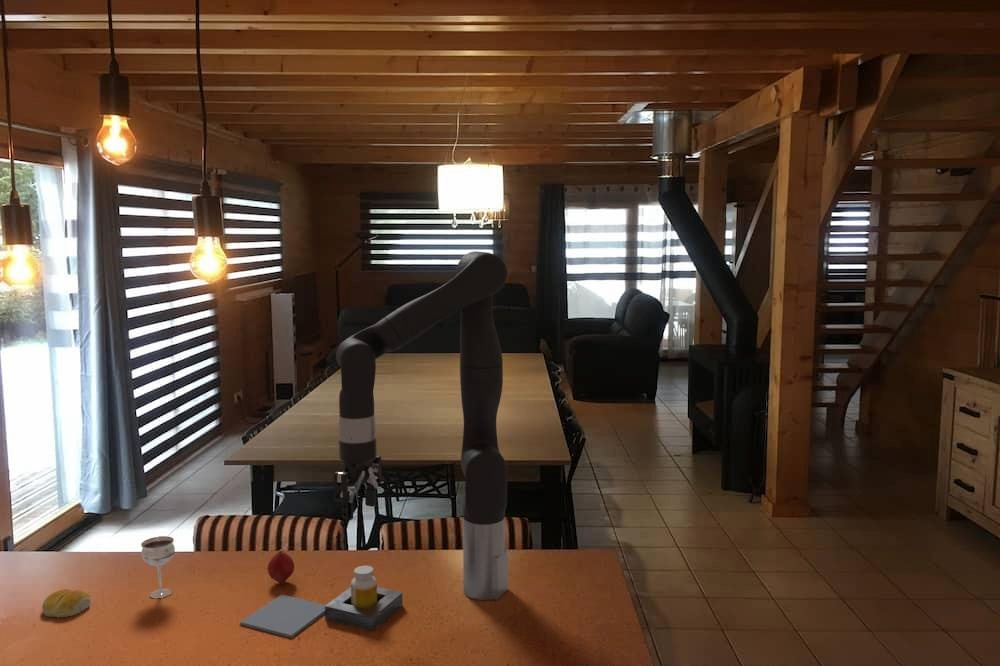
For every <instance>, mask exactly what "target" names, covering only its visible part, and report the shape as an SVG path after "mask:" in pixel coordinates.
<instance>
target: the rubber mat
mask: <svg viewBox="0 0 1000 666" xmlns="http://www.w3.org/2000/svg"><path fill="white" fill-rule="evenodd" d="M325 605H326V604H323V603H319V602H315V601H311V600H306V599H303V598H299V597H298V598H297V597H293V596H290V595H285V594H280V595H278V596H277V597H276V598H274V599H273V600H270V601H269V602H268V603H266V604H265V605H263V606H262V607H261V608H258V610H256V611H255V612H253V613H251V614H250V615H248V616H247V617H245V618H244V619H242V620H241V621H239V625H240V626H244V627H247V628H251V629H256V630H259V631H262V632H266V633H270V634H274V635H278V636H283V637H285V638H289V639H293V638H294V637H295V636H297V635H298V634H299V633H301V632H302V631H303V630H305V629H306V628H307V627H309V626H310V625H311V624H313V623H314V622H316V621H317V620H318V619H319V618H321V617H322V616H323V615H324V614H325Z"/></svg>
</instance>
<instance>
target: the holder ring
mask: <svg viewBox="0 0 1000 666" xmlns="http://www.w3.org/2000/svg"><path fill="white" fill-rule="evenodd" d="M324 605H325V613H324V614H325V615H324V616H325V617H324V618H325V619H324V620H325V621H329V622H335V623H337V624H342V625H346V626H348V627H349V626H350V627H353V626H354V627H355V628H358V629H362V630H366V629H367V630H366V631H370V630H371V631H370V632H374V631H375V630H376V629H377V628H378V627H379V626H381V625H382V624H383V623H384V622H385V621H387V620H388V619H389V618H391V616H392V615H394V614H395V613H396V612H397V611H398V610H399V609H400V608H402V607H403V592H401V591H397V590H393V589H388V588H383V587H381V586H380V587H379V586H377V603H376V604H375V605H374V606H372V607H371V608H370V609H366V608H361V607H357V606H353V605H351V586H350V587H349V588H347V589H346V590H345V591H343V592H341V593H340V594H339V595H338V596H336V597H335V598H334V599H332V600H331V601H330V602H328V603H327V604H324ZM394 612H395V613H394ZM387 618H388V619H387ZM386 619H387V620H386Z"/></svg>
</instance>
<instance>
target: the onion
mask: <svg viewBox="0 0 1000 666" xmlns="http://www.w3.org/2000/svg"><path fill="white" fill-rule="evenodd" d="M294 571H295V563H294V561H293V558H292V557H291V556H290V555H288V553H285V552H284V550H283V549H279V550H278V551H277V553H275V554H274V555H273V556H272V557H271V559H270V561H269V562H268V564H267V572H268V575H269V577H270V578H271V579H272V580H273V581H276V582H277V583H279V584H284V583H285V582H286V581H287V580H288V579H289V578H290V577H291V576H292V575H293V573H294Z"/></svg>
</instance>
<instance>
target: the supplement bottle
mask: <svg viewBox="0 0 1000 666" xmlns="http://www.w3.org/2000/svg"><path fill="white" fill-rule="evenodd" d="M374 574H375V573H374V568H373V566H370V565H359V566H358V567H355V568H354V569H353V578H352V579H351V582H350V587H351V605H353V606H357V607H361V608H366V609H370V608H371V607H372V606H374V605H375V604H376V603H377V587H378V581H377V578H376V577H375V576H374Z"/></svg>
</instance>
